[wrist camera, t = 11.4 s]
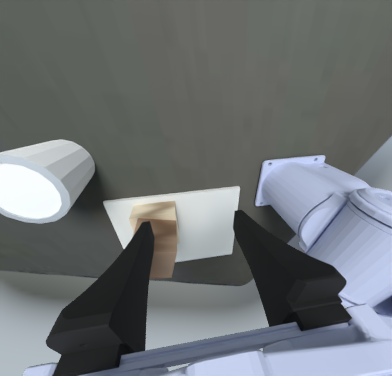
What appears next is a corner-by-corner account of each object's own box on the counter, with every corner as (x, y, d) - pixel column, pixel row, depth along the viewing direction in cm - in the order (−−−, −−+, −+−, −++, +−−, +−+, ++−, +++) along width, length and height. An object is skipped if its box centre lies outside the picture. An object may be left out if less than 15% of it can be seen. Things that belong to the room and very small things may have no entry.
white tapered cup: (92, 135, 18) (52, 156, 12) (106, 187, 21) (80, 223, 15) (23, 131, 17) (-60, 152, 11) (49, 186, 20) (-3, 225, 14)
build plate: (238, 186, 24) (240, 188, 23) (231, 251, 32) (232, 254, 32) (104, 200, 22) (102, 203, 22) (133, 265, 30) (132, 269, 30)
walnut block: (176, 220, 21) (177, 252, 17) (171, 244, 24) (171, 277, 19) (138, 217, 20) (128, 250, 16) (137, 243, 23) (129, 278, 18)
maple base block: (174, 200, 23) (175, 213, 21) (179, 229, 26) (179, 243, 24) (133, 205, 23) (128, 219, 20) (143, 233, 26) (139, 248, 23)
